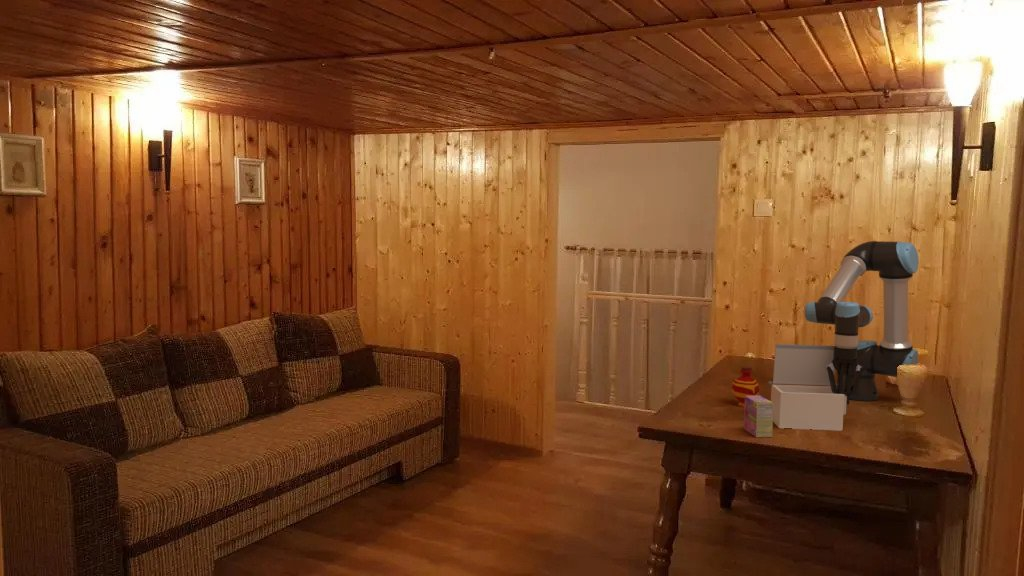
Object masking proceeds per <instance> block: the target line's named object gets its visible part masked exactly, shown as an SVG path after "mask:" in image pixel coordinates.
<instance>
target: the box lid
mask: <svg viewBox="0 0 1024 576" xmlns="http://www.w3.org/2000/svg"><path fill="white" fill-rule="evenodd" d="M835 346H836V345H818V344H817V345H816V344H815V345H813V344H811V345H810V344H783V343H782V344H780V343H779V344H777V343H776V344H775V349H774V350H775V351H774V362H773V363H774V364H773V372H772V373H773V374H772V384H773V385H802V386H831V385H830V381H829V376H828V372H827V370H826V368H825V366H826V365H827V366H828V365H830V364H831V363H832V361H833V358H834V357H833V356H834V347H835ZM833 373H834V378H835V376H836V369H835V368H834V367H833Z"/></svg>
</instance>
